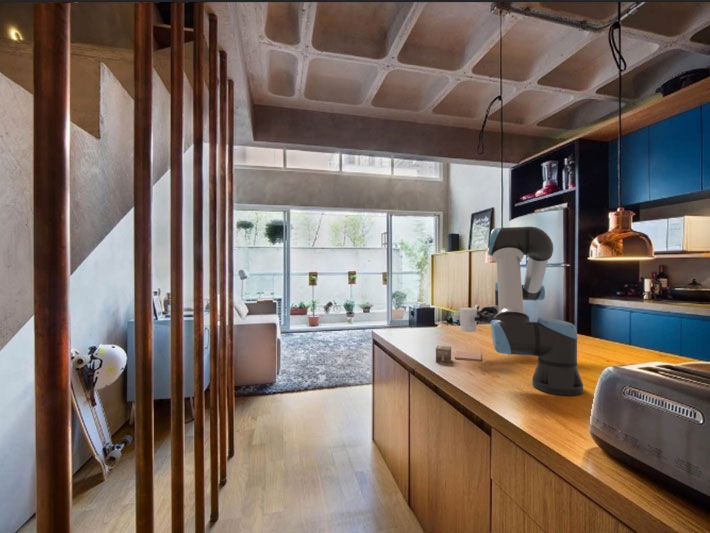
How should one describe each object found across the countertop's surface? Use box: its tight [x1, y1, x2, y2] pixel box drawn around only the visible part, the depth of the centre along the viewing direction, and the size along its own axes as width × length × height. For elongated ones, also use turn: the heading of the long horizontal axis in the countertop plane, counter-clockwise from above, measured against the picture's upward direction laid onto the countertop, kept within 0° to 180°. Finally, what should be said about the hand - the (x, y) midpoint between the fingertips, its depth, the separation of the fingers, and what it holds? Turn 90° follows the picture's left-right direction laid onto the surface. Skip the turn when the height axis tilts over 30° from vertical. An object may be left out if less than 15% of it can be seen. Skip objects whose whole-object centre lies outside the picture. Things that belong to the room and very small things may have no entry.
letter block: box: [435, 345, 452, 364], centre depth 153 cm, size 6×6×6 cm
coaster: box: [454, 351, 482, 362], centre depth 159 cm, size 11×11×1 cm
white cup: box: [459, 307, 478, 333], centre depth 159 cm, size 8×8×10 cm
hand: (461, 318), depth 156 cm, fingers closed on white cup, 7 cm apart
